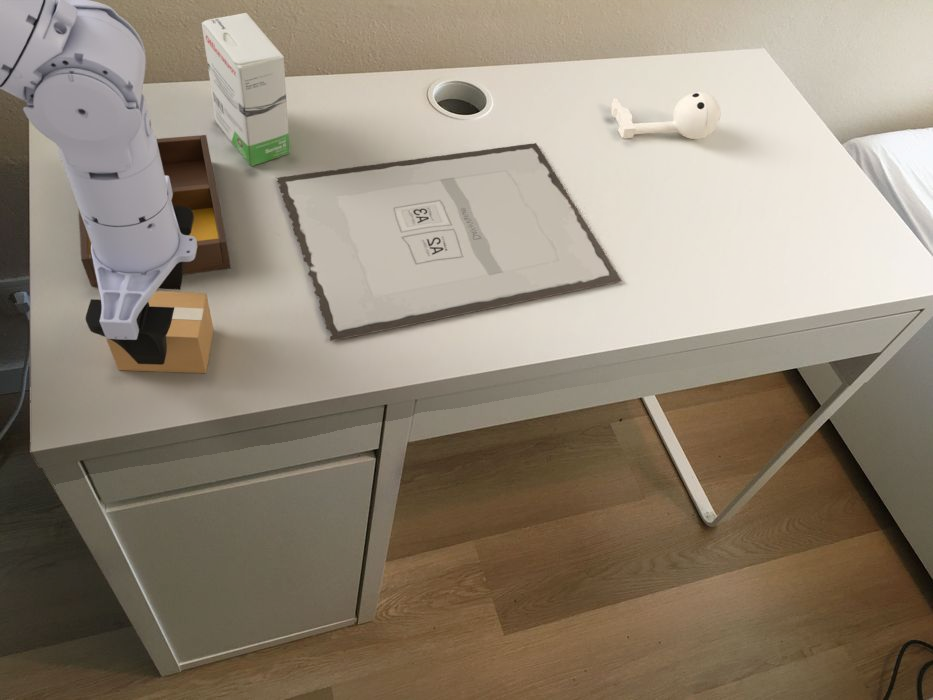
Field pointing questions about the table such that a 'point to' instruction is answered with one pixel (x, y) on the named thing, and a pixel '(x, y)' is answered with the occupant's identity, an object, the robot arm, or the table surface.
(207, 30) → the ink box
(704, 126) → the figurine
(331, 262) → the picture frame
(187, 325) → the parcel
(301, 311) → the table surface
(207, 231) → the tray
